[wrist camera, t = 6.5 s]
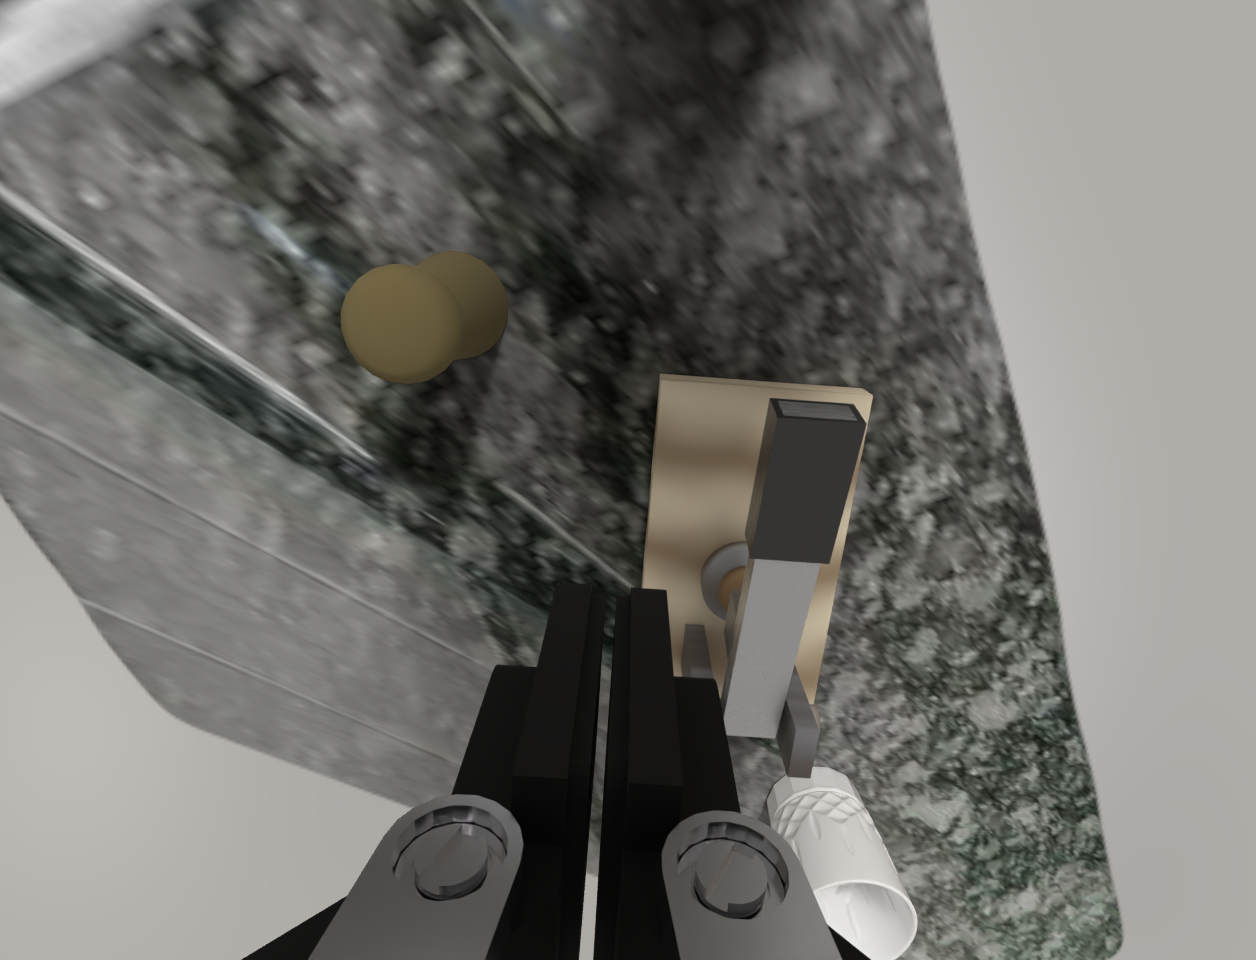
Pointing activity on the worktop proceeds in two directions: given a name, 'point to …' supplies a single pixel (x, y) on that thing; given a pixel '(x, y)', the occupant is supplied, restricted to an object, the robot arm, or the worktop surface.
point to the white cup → (844, 861)
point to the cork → (423, 316)
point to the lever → (785, 553)
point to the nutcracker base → (729, 533)
